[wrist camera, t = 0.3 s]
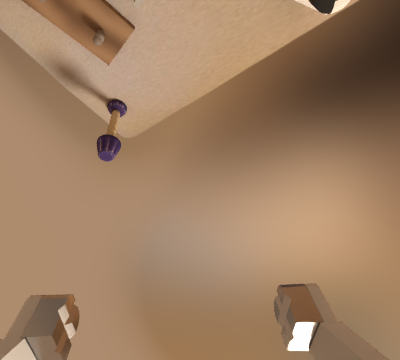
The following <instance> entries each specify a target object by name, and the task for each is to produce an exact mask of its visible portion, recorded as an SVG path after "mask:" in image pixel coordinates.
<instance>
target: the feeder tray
mask: <svg viewBox="0 0 400 360" xmlns="http://www.w3.org/2000/svg"><path fill="white" fill-rule="evenodd" d="M143 1H144V0H134V3H133V5H134V6H135V7H136V8H139V6H140V5H141V4H142V2H143Z"/></svg>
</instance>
